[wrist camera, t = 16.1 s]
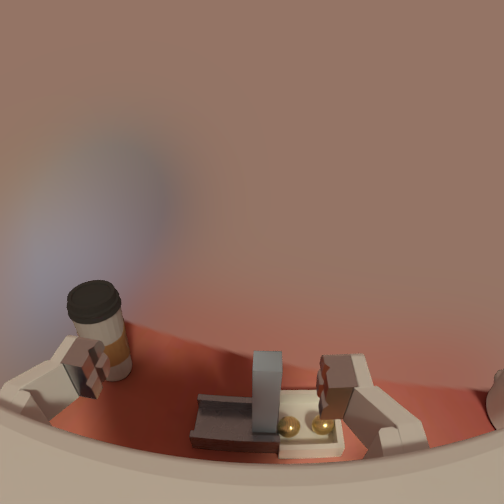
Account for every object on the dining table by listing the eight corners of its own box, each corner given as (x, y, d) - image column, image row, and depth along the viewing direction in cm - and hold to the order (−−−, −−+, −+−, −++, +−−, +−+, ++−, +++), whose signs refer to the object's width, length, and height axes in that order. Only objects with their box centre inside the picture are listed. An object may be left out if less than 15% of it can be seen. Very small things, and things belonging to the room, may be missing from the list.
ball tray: (332, 399, 43) (335, 389, 42) (340, 456, 34) (344, 447, 33) (278, 400, 44) (279, 390, 42) (278, 458, 35) (279, 450, 33)
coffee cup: (145, 378, 47) (123, 300, 40) (97, 392, 43) (65, 317, 36) (131, 346, 53) (112, 273, 46) (88, 359, 49) (62, 286, 42)
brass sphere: (303, 414, 38) (286, 411, 37) (306, 435, 36) (287, 433, 35) (289, 420, 40) (271, 418, 39) (291, 440, 38) (273, 439, 36)
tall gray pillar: (275, 415, 40) (281, 348, 34) (275, 439, 36) (282, 375, 31) (253, 415, 40) (253, 347, 34) (251, 438, 37) (252, 374, 31)
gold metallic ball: (331, 419, 39) (335, 409, 38) (332, 438, 37) (336, 430, 35) (310, 419, 40) (312, 410, 38) (310, 438, 37) (312, 430, 35)
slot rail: (278, 410, 42) (279, 398, 41) (278, 452, 35) (280, 442, 34) (200, 406, 42) (198, 393, 41) (192, 447, 36) (189, 436, 35)
